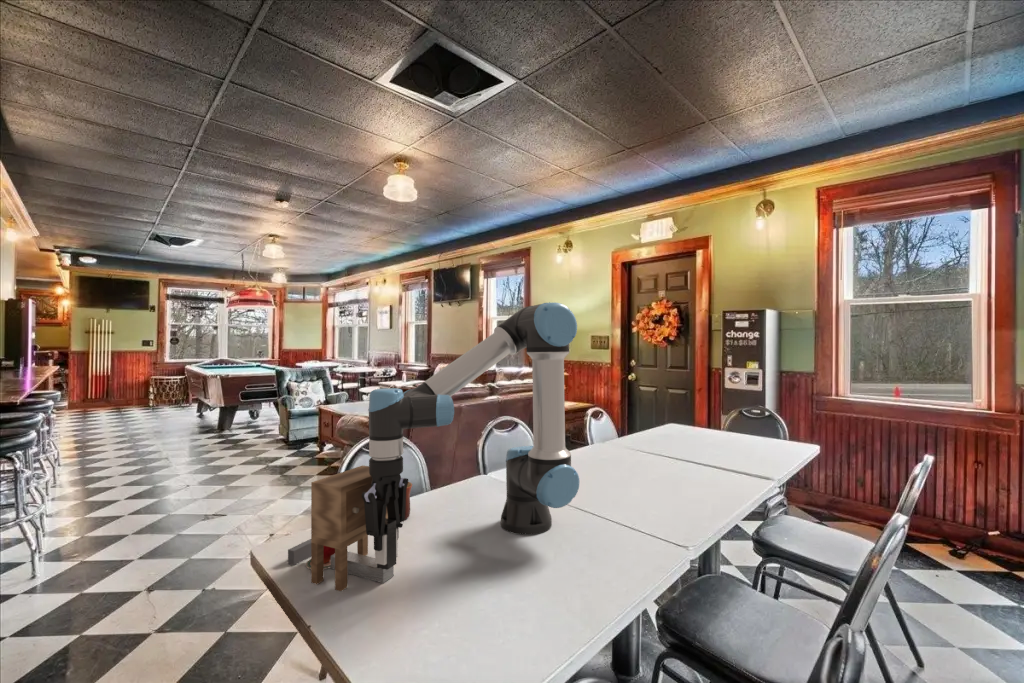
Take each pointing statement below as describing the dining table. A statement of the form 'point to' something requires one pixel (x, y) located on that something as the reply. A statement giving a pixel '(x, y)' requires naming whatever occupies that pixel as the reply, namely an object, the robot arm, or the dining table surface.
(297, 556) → the block
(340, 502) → the cabinet
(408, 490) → the mug
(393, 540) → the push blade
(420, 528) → the dining table surface
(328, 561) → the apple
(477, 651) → the dining table surface
